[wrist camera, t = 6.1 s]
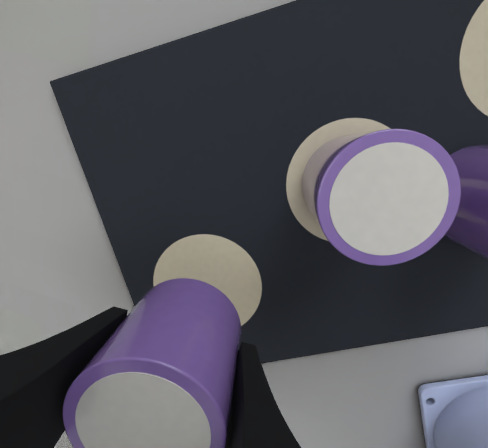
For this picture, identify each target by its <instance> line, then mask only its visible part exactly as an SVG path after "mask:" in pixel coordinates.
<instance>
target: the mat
mask: <svg viewBox="0 0 488 448" xmlns="http://www.w3.org/2000/svg"><path fill="white" fill-rule="evenodd" d="M50 84H51V87H52V89H53V92H54V95H55V97H56V100H57V102H58V105H59V108H60V110H61V113H62V116H63V118H64V121H65V124H66V126H67V129H68V132H69V134H70V137H71V139H72V142H73V145H74V147H75V150H76V153H77V155H78V158H79V161H80V163H81V166H82V168H83V171H84V174H85V176H86V179H87V182H88V184H89V187H90V190H91V192H92V195H93V197H94V200H95V203H96V205H97V208H98V211H99V213H100V216H101V219H102V221H103V224H104V227H105V229H106V232H107V234H108V237H109V240H110V242H111V245H112V248H113V250H114V253H115V256H116V258H117V261H118V263H119V266H120V269H121V271H122V274H123V277H124V279H125V282H126V285H127V287H128V290H129V292H130V295H131V298H132V300H133V303H134V306H136V305H137V303H138V302H139V301H140V300H141V299H142V297H143V296H144V295H145V294H146V293H147V292H148V291H149V290H150V289H151V288H152V287H154V286H156V285H157V284H159V283H162V282H164V281H167V280H171V279H177V278H189V279H196V280H200V281H203V282H206V283H208V284H210V285H212V286H214V287H216V288H217V289H219V290H220V291H221V292H222V293H224V294H225V295H226V296H227V297H228V298H229V300H230V301H231V302H232V304H233V305H234V307H235V308H236V310H237V312H238V315H239V318H240V322H241V340H240V345H241V342H245V343H249V344H253V345H256V347H257V349H258V354H259V358H260V361H261V363H266V362H272V361H278V360H284V359H290V358H296V357H302V356H308V355H315V354H321V353H327V352H333V351H339V350H345V349H351V348H357V347H363V346H369V345H375V344H382V343H388V342H394V341H400V340H406V339H412V338H418V337H424V336H430V335H436V334H442V333H448V332H455V331H461V330H467V329H473V328H479V327H485V326H488V259H487V258H485V257H483V256H481V255H479V254H477V253H475V252H473V251H471V250H469V249H467V248H465V247H463V246H461V245H460V244H458V243H456V242H454V241H452V240H450V239H448V238H446V237H444V236H443V237H442V238H441V239H440V241H439V242H438V243H437V244H435V245H434V246H433V247H432V248H431V249H429V250H428V251H426V252H425V253H423V254H422V255H420V256H418V257H416V258H414V259H412V260H409V261H406V262H403V263H399V264H394V265H384V266H377V265H368V264H364V263H360V262H357V261H354V260H352V259H350V258H348V257H346V256H345V255H343V254H342V253H340V252H339V251H338V250H337V249H336V248H335V247H333V246H332V244H331V243H330V242H329V241H328V240H327V238H326V236H325V235H324V233H323V232H322V230H321V229H320V227H319V226H318V224H317V222H316V221H315V219H314V218H313V216H312V215H311V213H310V212H309V210H308V208H307V207H306V205H305V202H304V199H303V196H302V190H301V182H302V176H303V172H304V169H305V167H306V164H307V163H308V161H309V159H310V158H311V156H312V155H313V154H314V153H315V151H316V150H317V149H318V148H320V147H321V146H322V145H323V144H325V143H326V142H328V141H330V140H332V139H334V138H337V137H340V136H344V135H350V134H357V133H364V132H370V131H377V130H384V129H407V130H412V131H416V132H419V133H422V134H425V135H426V136H428V137H430V138H432V139H434V140H435V141H436V142H438V143H439V144H440V145H441V146H442V147H443V148H444V149H445V150H446V151H447V152H448V154H449V155H451V154H452V153H454V152H456V151H458V150H461V149H463V148H466V147H470V146H475V145H488V0H296V1H293V2H290V3H287V4H284V5H281V6H278V7H275V8H272V9H269V10H266V11H263V12H260V13H257V14H254V15H251V16H248V17H245V18H242V19H239V20H236V21H232V22H229V23H226V24H223V25H220V26H217V27H214V28H211V29H208V30H205V31H202V32H199V33H196V34H193V35H190V36H187V37H184V38H181V39H178V40H175V41H172V42H169V43H166V44H163V45H159V46H156V47H153V48H150V49H147V50H144V51H141V52H138V53H135V54H132V55H129V56H126V57H123V58H120V59H117V60H114V61H111V62H108V63H105V64H102V65H99V66H96V67H93V68H90V69H87V70H83V71H80V72H77V73H74V74H71V75H68V76H65V77H62V78H59V79H56V80H53V81H50ZM239 349H240V348H239Z"/></svg>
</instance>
